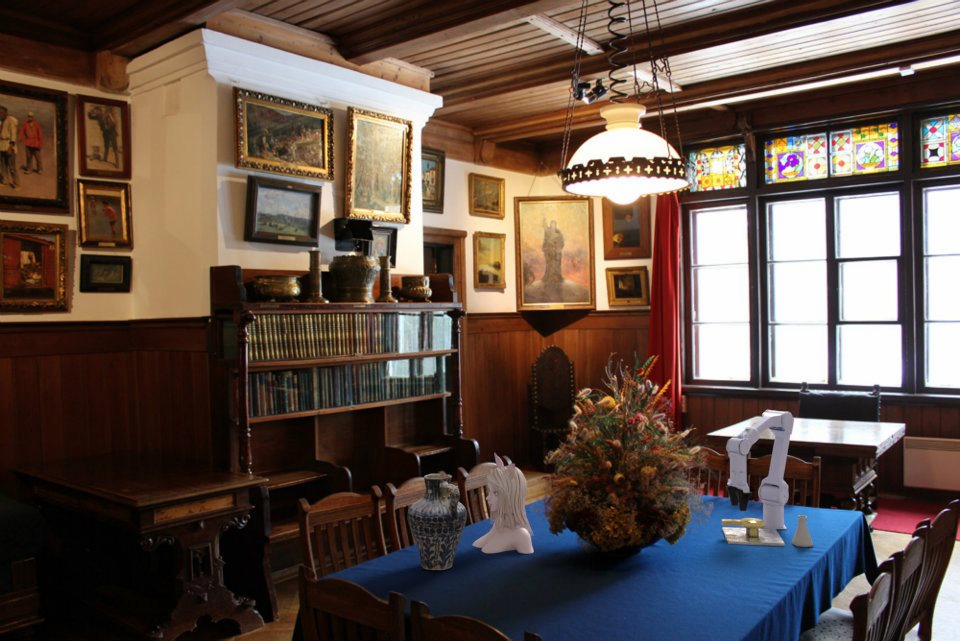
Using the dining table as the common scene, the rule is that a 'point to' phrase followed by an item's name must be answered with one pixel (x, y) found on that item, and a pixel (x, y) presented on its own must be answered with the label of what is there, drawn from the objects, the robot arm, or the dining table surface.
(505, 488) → the figurine bust
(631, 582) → the dining table surface
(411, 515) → the jug
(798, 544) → the flask
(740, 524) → the gold bar with disc
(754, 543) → the base plate
